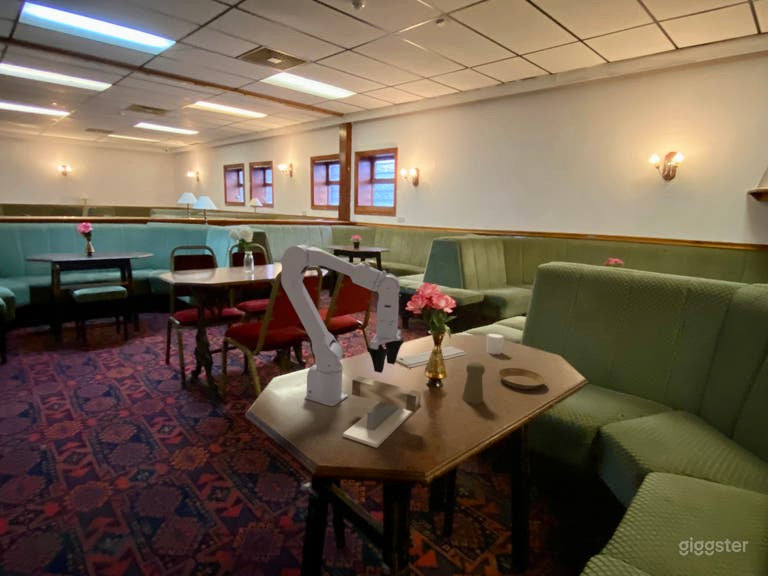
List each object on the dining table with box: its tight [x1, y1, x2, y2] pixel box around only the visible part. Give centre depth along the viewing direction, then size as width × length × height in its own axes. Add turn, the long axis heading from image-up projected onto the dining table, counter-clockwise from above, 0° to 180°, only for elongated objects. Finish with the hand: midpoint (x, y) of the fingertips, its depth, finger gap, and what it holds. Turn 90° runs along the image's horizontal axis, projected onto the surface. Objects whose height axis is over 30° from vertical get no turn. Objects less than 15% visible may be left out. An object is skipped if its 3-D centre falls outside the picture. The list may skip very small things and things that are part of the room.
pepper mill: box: [461, 361, 486, 405], centre depth 122 cm, size 6×6×11 cm
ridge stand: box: [342, 401, 422, 449], centre depth 107 cm, size 9×26×5 cm, turn 153°
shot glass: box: [486, 332, 505, 355], centre depth 167 cm, size 7×7×7 cm
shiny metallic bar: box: [351, 375, 422, 413], centre depth 107 cm, size 18×3×4 cm, turn 63°
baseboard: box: [395, 346, 468, 369], centre depth 157 cm, size 30×3×10 cm
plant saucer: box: [497, 367, 546, 390], centre depth 137 cm, size 15×15×3 cm
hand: (384, 367), depth 115 cm, fingers open, 7 cm apart
